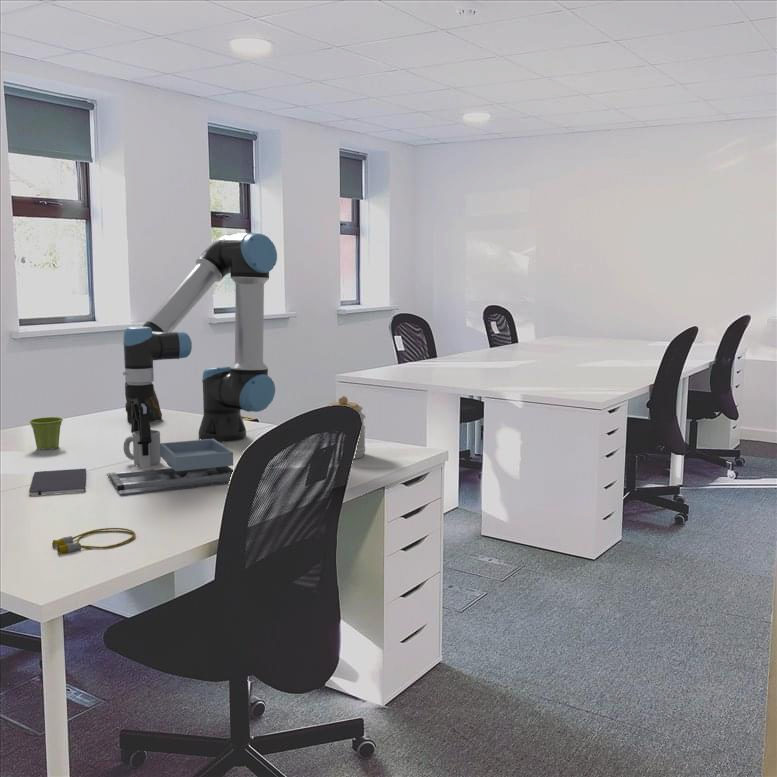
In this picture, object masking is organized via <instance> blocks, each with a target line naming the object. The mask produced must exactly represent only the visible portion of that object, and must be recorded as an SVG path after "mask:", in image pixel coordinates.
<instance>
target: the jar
mask: <svg viewBox="0 0 777 777" xmlns="http://www.w3.org/2000/svg"><path fill="white" fill-rule="evenodd" d="M332 405H343V406H348V407H351V408H353V409H355V410H356V411H357V412H358V413H359V414H360V416H361V420H362V427H361V433H360V438H359V441H358V445H357V450H356V454H355V459H354V460H356V459H360V458H364V456H365V452H366V445H365V444H366V439H365V436H366V431H365V430H366V426H365V423H364V420H365V418H366V415H365V414H364V413H363V412H362V410H363V407H362V406H361V405H359V404H358V403H356V402H351V401H348V397H346V396H343V395H341V396H339V398H338V401H335V402H329V403H328V404H327V405H326V406H332Z"/></svg>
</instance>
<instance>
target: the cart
mask: <svg viewBox="0 0 777 777" xmlns="http://www.w3.org/2000/svg"><path fill="white" fill-rule="evenodd" d="M160 456H161V459H162V460H164V462H166V464H167V466H168V467H172V468H173V469H174V470H175V471H177V474H178V475H179V476H180V477H185V476H186V475H187V470H194V469H204V468H214V467H216V470H217V471H218V472H219V473H224V472H225V471H226V466H229V467H232V466H234V451H232V450H231V449H229V447H226V446H225V445H223V444H222V442H218V441H216V440H215V439H204V440H200V439H195V440H184V441H171V442H160Z"/></svg>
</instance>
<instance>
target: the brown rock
mask: <svg viewBox="0 0 777 777" xmlns="http://www.w3.org/2000/svg"><path fill="white" fill-rule="evenodd" d="M124 370H125V369H124ZM124 372H126V370H125V371H124ZM126 384H128V383H127V382H126V381H125V383H124V386H125V385H126ZM124 394H125V401H126V402H125V411H126V415H127V416H126V419H127V420H126V422H128V423H130V422H131V418H132V406H131V400H134V399H130V398H127V397H126V393H125V392H124ZM146 403H147V404H148V405H149V407H150V409H149V416H150V422H156V421H155V420H159V421H162V420H163V418H162V417H163V413H162V411H161V407H160V403H159V399H158V396H157V393H156V390H155V389H154V396H153V397H151V398H147V399H146ZM161 419H162V420H161Z"/></svg>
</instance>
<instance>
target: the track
mask: <svg viewBox="0 0 777 777" xmlns="http://www.w3.org/2000/svg"><path fill="white" fill-rule="evenodd" d="M233 470H234V469H232V468H231V466H226V471H225V472H224V473H219V472H218V471H217V470H216V467H214V468H204V469H194V470H187V475H186V476H185V477H180V476H179V475H178V474H177V471H175V470H174V469H173V468H172V467H170V466H168V467H160V468H159V467H158V468H151V469H150V468H149V469H141V470H140V469H139V470H128V471H116V472H107V473H106V477H107V476H108V477H107V479H108V478H109V479H110V480H109V479H108V480H109V481H111V482H112V483H111V482H110V483H111V485H112V484H113V485H112V486H113V488H114V487H115V488H114V489H115V490H117V491H116V492H117V493H118V495H119V496H120V497H123V496H135V495H142V494H151V493H162V492H170V491H179V490H189V489H196V488H205V487H214V486H225V485H229V484H228V483H229V481H230V477H231V474H232V472H233Z"/></svg>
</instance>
